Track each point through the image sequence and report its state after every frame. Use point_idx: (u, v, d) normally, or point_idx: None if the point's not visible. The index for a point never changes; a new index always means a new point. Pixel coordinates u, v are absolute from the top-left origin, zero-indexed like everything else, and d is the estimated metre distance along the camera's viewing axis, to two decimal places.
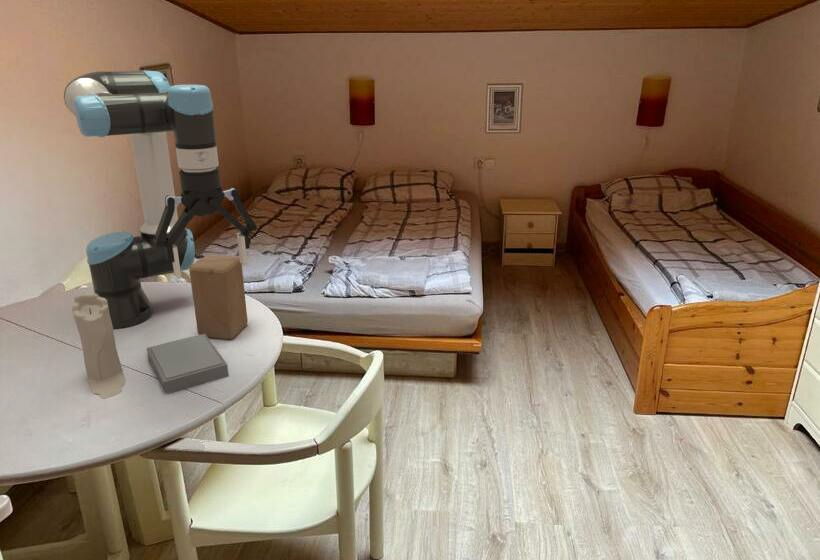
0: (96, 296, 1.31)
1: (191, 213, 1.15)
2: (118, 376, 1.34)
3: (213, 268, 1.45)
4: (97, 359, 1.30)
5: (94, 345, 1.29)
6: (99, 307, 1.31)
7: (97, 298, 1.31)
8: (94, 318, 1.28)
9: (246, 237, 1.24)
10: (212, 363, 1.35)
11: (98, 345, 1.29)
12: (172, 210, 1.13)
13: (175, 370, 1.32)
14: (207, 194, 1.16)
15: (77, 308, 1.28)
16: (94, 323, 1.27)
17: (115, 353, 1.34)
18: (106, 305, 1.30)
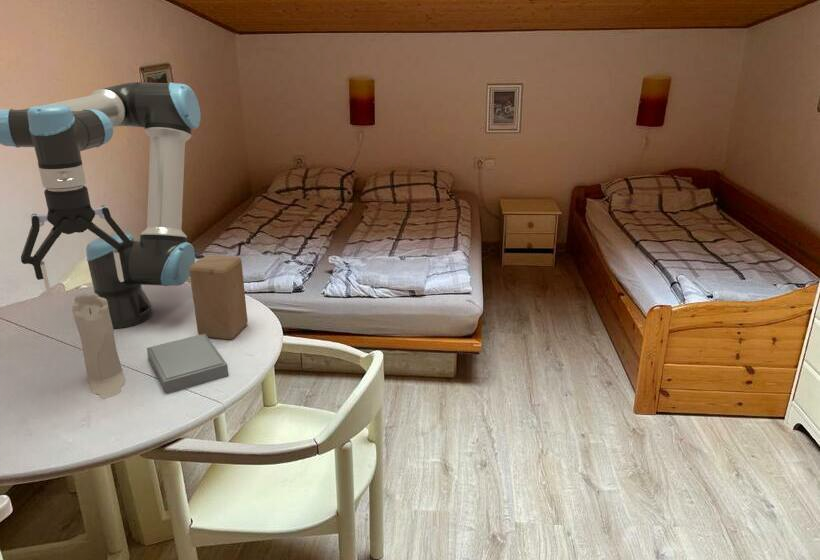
0: (96, 296, 1.31)
1: (58, 231, 1.16)
2: (118, 376, 1.34)
3: (213, 268, 1.45)
4: (97, 359, 1.30)
5: (94, 345, 1.29)
6: (99, 307, 1.31)
7: (97, 298, 1.31)
8: (94, 318, 1.28)
9: (121, 254, 1.25)
10: (212, 363, 1.35)
11: (98, 345, 1.29)
12: (37, 228, 1.14)
13: (175, 370, 1.32)
14: (75, 212, 1.17)
15: (77, 308, 1.28)
16: (94, 323, 1.27)
17: (115, 353, 1.34)
18: (106, 305, 1.30)
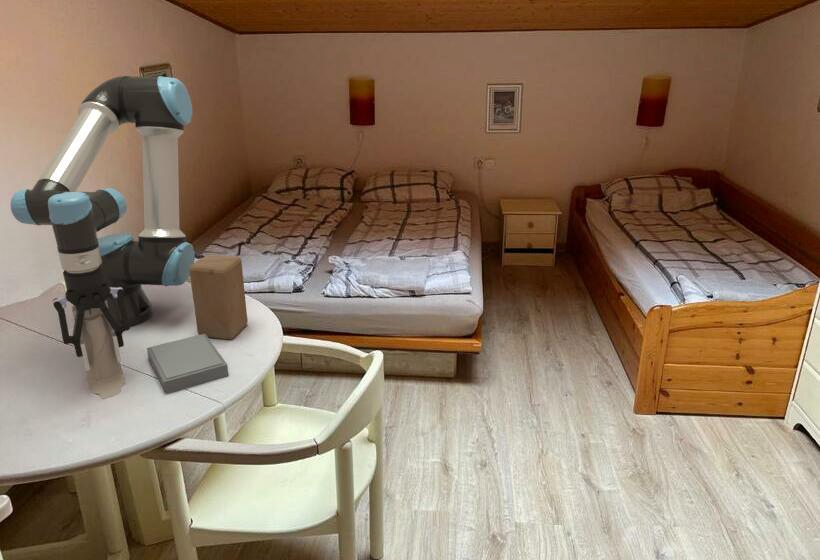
0: None
1: (81, 310, 1.23)
2: (118, 376, 1.34)
3: (213, 268, 1.45)
4: (97, 359, 1.30)
5: (94, 344, 1.29)
6: None
7: None
8: (94, 318, 1.28)
9: (119, 336, 1.31)
10: (212, 363, 1.35)
11: (98, 345, 1.29)
12: (62, 311, 1.22)
13: (175, 370, 1.32)
14: None
15: None
16: (93, 323, 1.27)
17: None
18: (106, 305, 1.30)
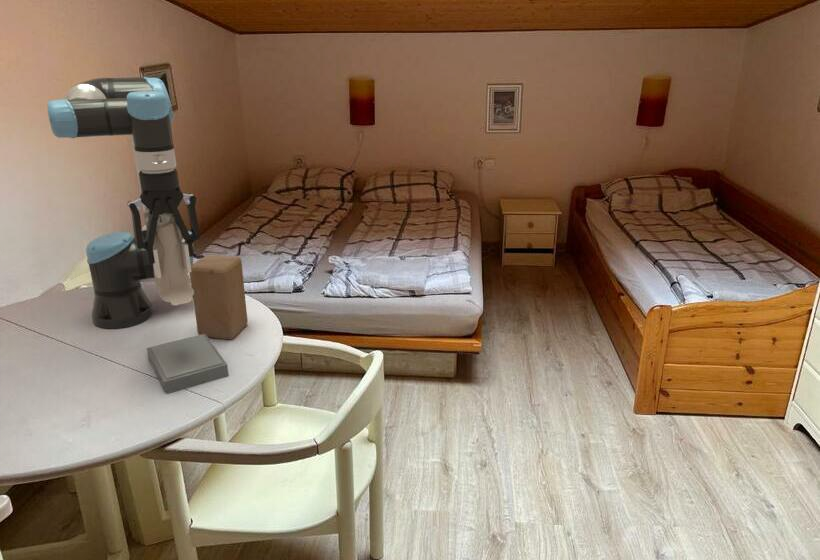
0: None
1: (155, 213, 1.22)
2: (187, 288, 1.33)
3: (213, 268, 1.45)
4: (168, 268, 1.29)
5: (165, 252, 1.28)
6: (169, 216, 1.30)
7: None
8: (165, 225, 1.27)
9: (190, 245, 1.30)
10: (212, 363, 1.35)
11: (169, 253, 1.28)
12: (137, 214, 1.21)
13: (175, 370, 1.32)
14: None
15: (148, 215, 1.27)
16: (165, 229, 1.26)
17: None
18: None
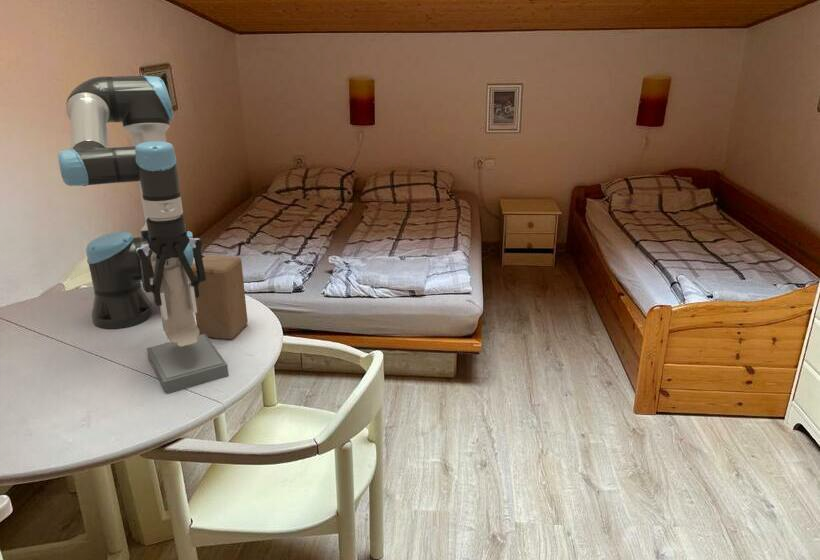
0: None
1: (162, 258, 1.26)
2: (192, 327, 1.37)
3: (213, 268, 1.45)
4: (174, 309, 1.33)
5: (171, 294, 1.31)
6: (175, 259, 1.34)
7: None
8: (172, 268, 1.30)
9: (195, 287, 1.34)
10: (212, 363, 1.35)
11: (176, 295, 1.32)
12: (145, 259, 1.25)
13: (175, 370, 1.32)
14: None
15: (155, 258, 1.31)
16: (172, 273, 1.30)
17: None
18: None
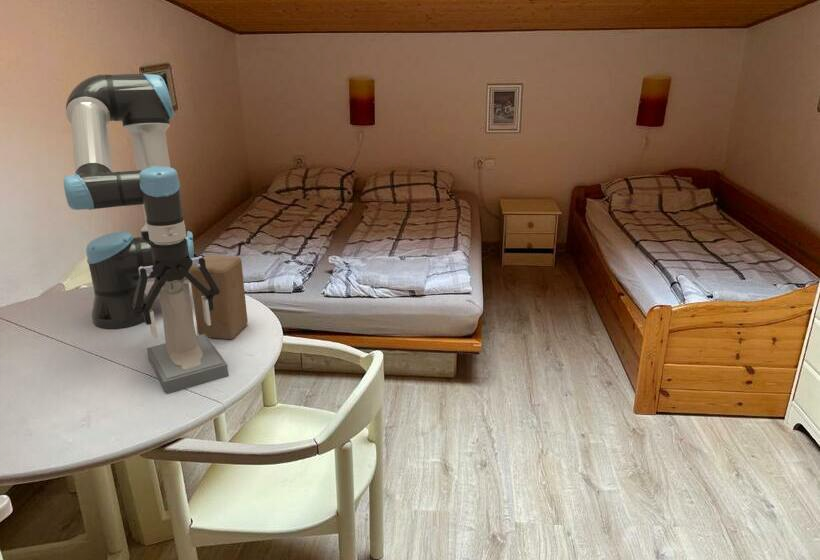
0: None
1: (162, 280, 1.28)
2: (196, 349, 1.39)
3: (213, 268, 1.45)
4: (178, 332, 1.35)
5: (176, 318, 1.34)
6: (180, 282, 1.36)
7: None
8: (177, 292, 1.33)
9: (210, 300, 1.37)
10: (212, 363, 1.35)
11: (180, 319, 1.34)
12: (145, 279, 1.26)
13: (175, 370, 1.32)
14: (176, 261, 1.29)
15: None
16: (176, 297, 1.33)
17: (193, 327, 1.39)
18: (187, 280, 1.36)
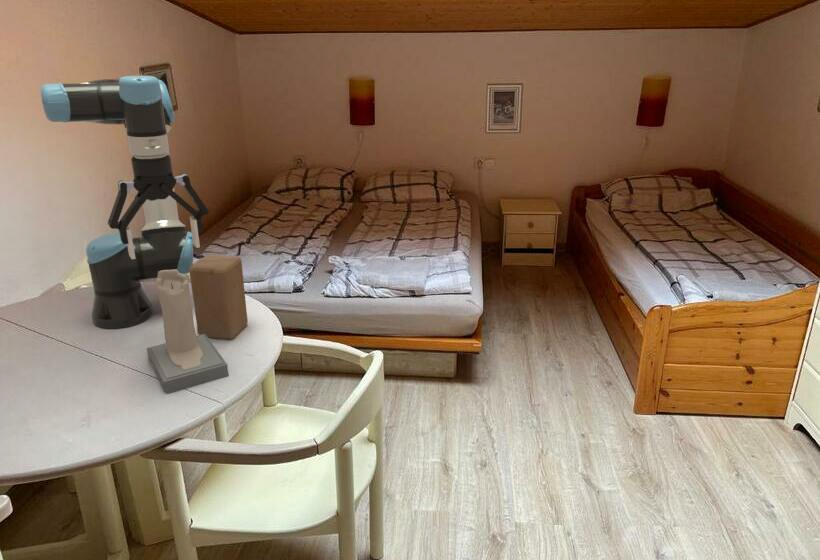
0: (177, 272, 1.36)
1: (143, 197, 1.21)
2: (196, 349, 1.39)
3: (213, 268, 1.45)
4: (178, 332, 1.35)
5: (176, 318, 1.34)
6: (180, 282, 1.36)
7: (178, 274, 1.36)
8: (177, 292, 1.33)
9: (198, 221, 1.31)
10: (212, 363, 1.35)
11: (180, 319, 1.34)
12: (125, 194, 1.20)
13: (175, 370, 1.32)
14: (159, 179, 1.23)
15: (160, 283, 1.33)
16: (176, 297, 1.33)
17: (193, 327, 1.39)
18: (187, 280, 1.36)
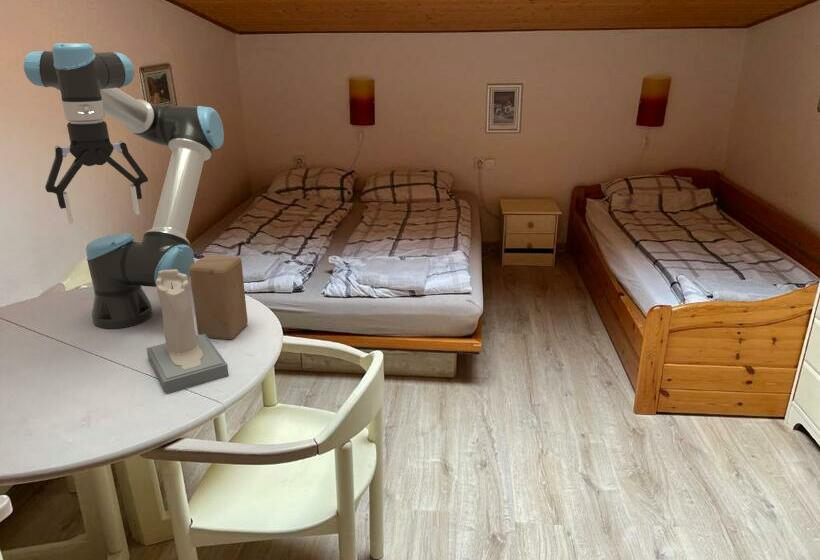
0: (177, 272, 1.36)
1: (79, 162, 1.25)
2: (196, 349, 1.39)
3: (213, 268, 1.45)
4: (178, 332, 1.35)
5: (176, 318, 1.34)
6: (180, 282, 1.36)
7: (178, 274, 1.36)
8: (177, 292, 1.33)
9: (138, 188, 1.34)
10: (212, 363, 1.35)
11: (180, 319, 1.34)
12: (60, 159, 1.23)
13: (175, 370, 1.32)
14: (95, 145, 1.26)
15: (160, 283, 1.33)
16: (176, 297, 1.33)
17: (193, 327, 1.39)
18: (187, 280, 1.36)
